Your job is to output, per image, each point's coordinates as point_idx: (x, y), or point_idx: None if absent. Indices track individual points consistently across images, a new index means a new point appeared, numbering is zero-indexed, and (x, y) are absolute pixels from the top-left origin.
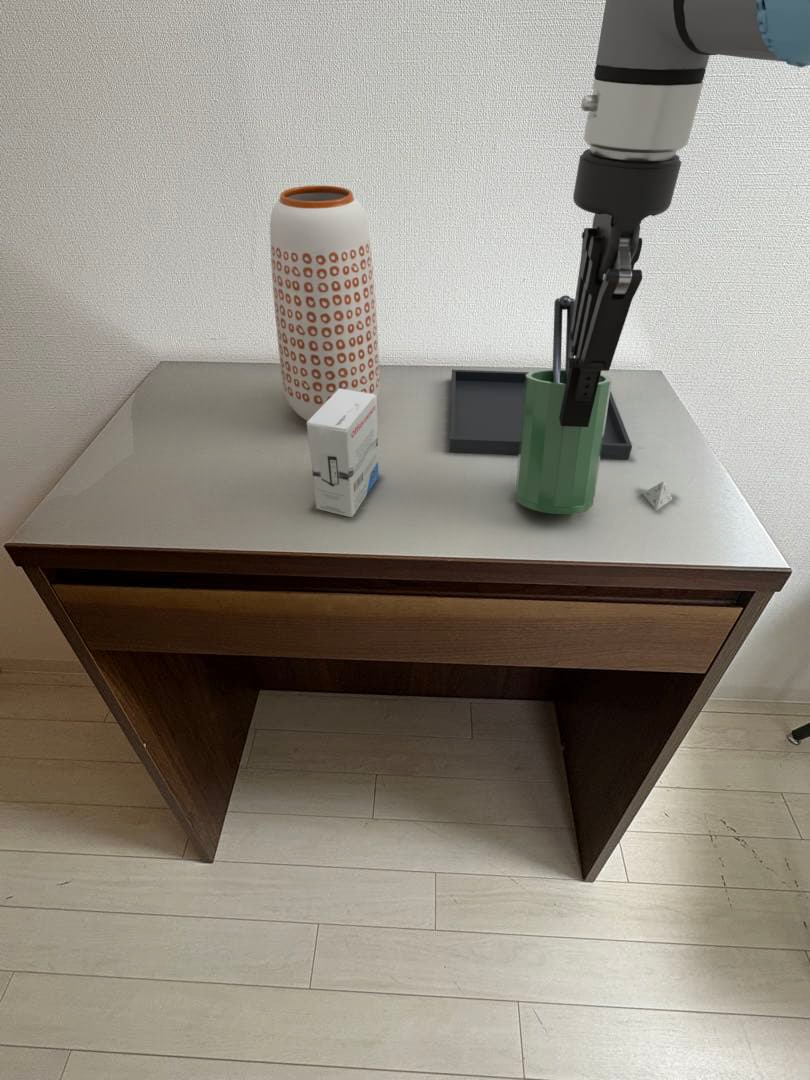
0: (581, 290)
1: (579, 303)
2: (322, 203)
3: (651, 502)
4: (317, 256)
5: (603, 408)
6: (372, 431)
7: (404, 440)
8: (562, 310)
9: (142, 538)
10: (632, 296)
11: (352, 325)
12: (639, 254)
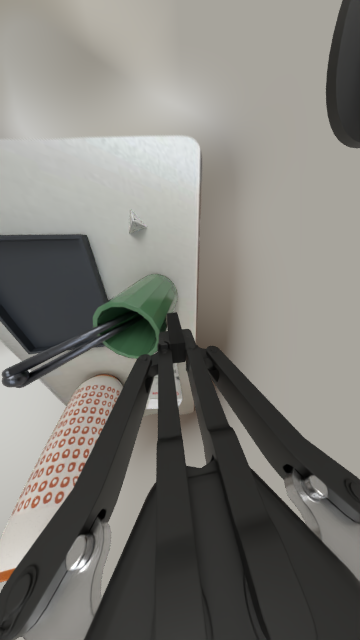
0: (137, 429)
1: (143, 410)
2: None
3: (140, 229)
4: None
5: (150, 301)
6: (156, 383)
7: (117, 357)
8: (33, 372)
9: (190, 397)
10: (311, 444)
11: (98, 433)
12: (290, 560)
